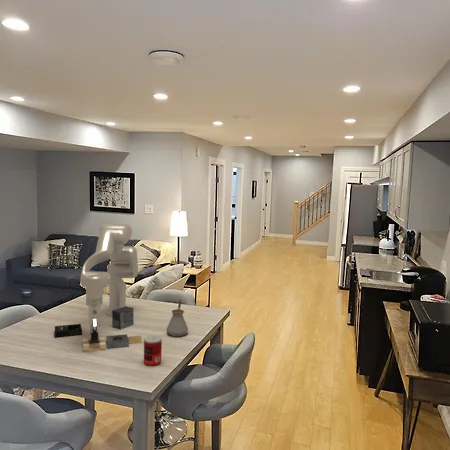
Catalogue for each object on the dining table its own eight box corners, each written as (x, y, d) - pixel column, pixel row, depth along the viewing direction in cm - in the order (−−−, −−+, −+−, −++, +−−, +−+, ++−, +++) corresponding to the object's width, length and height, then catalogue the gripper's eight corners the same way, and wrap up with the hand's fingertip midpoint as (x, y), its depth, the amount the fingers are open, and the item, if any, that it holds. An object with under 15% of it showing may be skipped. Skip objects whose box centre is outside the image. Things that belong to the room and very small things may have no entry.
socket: (106, 341, 206) (106, 336, 205) (126, 340, 209) (126, 334, 209) (107, 349, 196) (107, 343, 196) (129, 347, 199) (129, 341, 199)
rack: (83, 344, 201) (83, 338, 201) (104, 342, 204) (104, 337, 204) (83, 352, 192) (83, 346, 191) (105, 350, 195) (105, 344, 195)
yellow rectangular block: (128, 342, 206) (128, 336, 205) (140, 341, 208) (140, 335, 207) (128, 344, 203) (128, 338, 203) (141, 343, 205) (141, 337, 205)
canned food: (162, 358, 188) (162, 335, 187) (160, 366, 180) (160, 342, 179) (145, 358, 187) (145, 335, 186) (142, 366, 179) (142, 341, 178)
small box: (125, 323, 234) (125, 305, 233) (134, 325, 231) (134, 307, 230) (111, 328, 225) (111, 310, 224) (120, 331, 221) (120, 312, 221)
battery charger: (55, 339, 207) (55, 332, 207) (54, 333, 216) (54, 326, 216) (82, 336, 212) (82, 329, 212) (80, 330, 221) (80, 323, 221)
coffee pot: (187, 338, 213) (187, 310, 212) (164, 338, 213) (165, 310, 212) (190, 325, 235) (190, 299, 233) (170, 324, 234) (170, 298, 233)
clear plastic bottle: (90, 346, 199) (90, 320, 198) (97, 346, 200) (97, 320, 199) (91, 349, 196) (91, 322, 195) (97, 348, 197) (97, 322, 196)
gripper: (103, 305, 189) (103, 343, 191) (101, 295, 205) (101, 330, 207) (86, 306, 186) (86, 344, 188) (85, 296, 203) (85, 331, 204)
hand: (94, 336), depth 197 cm, fingers open, 7 cm apart
